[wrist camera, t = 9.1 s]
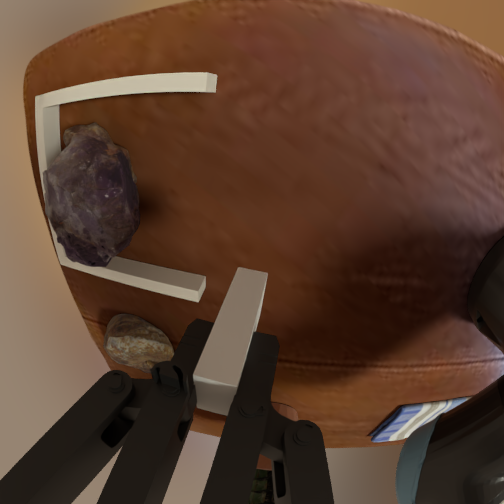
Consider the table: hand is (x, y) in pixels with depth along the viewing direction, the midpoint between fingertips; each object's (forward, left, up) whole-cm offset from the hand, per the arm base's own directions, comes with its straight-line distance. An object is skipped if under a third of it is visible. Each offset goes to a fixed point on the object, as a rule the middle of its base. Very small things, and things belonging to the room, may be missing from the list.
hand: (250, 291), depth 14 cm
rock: (+15, -1, -11) cm, 19 cm away
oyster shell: (+16, +25, -11) cm, 32 cm away
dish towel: (-42, +39, -12) cm, 58 cm away
